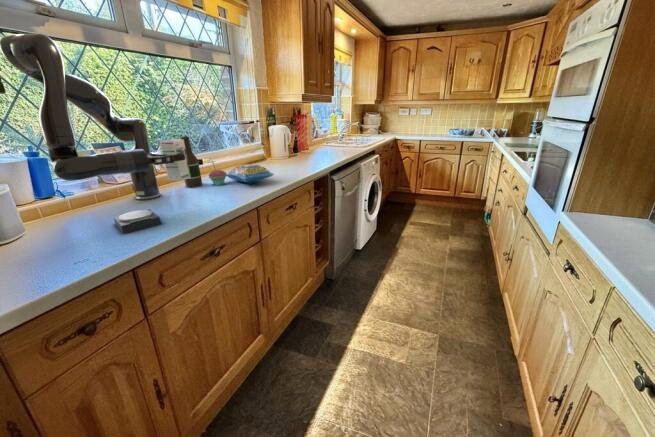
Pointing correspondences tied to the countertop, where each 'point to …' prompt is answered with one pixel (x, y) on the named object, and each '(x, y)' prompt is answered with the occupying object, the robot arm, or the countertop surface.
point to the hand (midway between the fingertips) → (180, 155)
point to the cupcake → (217, 176)
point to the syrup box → (178, 168)
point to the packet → (249, 173)
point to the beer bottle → (192, 166)
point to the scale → (136, 220)
